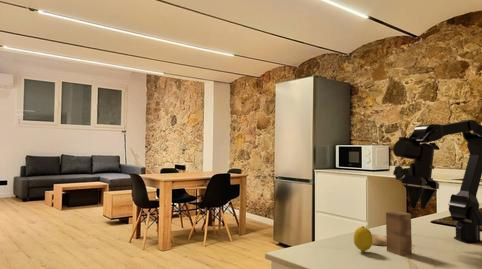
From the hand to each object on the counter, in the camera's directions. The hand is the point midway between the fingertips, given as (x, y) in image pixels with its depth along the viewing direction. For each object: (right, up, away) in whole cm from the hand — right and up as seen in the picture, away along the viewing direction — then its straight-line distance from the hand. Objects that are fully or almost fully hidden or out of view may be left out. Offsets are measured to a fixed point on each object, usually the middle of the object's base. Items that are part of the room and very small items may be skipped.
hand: (418, 208), depth 116 cm
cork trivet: (-12, -12, +5) cm, 18 cm away
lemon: (-21, -12, -7) cm, 25 cm away
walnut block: (-10, -12, -7) cm, 17 cm away
